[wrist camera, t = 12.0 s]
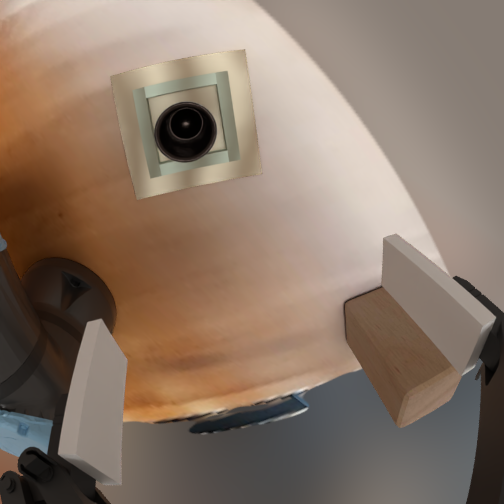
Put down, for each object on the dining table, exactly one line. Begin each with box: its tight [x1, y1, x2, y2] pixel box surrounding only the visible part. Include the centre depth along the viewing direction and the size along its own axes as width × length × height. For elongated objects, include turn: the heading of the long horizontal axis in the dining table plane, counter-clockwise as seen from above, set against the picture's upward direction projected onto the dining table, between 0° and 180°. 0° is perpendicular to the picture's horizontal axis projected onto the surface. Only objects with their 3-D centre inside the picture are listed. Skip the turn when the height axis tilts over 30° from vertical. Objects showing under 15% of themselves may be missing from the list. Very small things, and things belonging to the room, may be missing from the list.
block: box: [345, 287, 462, 428], centre depth 40 cm, size 10×10×20 cm
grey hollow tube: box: [154, 101, 217, 163], centre depth 25 cm, size 4×4×10 cm
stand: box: [111, 50, 262, 200], centre depth 29 cm, size 14×14×2 cm
